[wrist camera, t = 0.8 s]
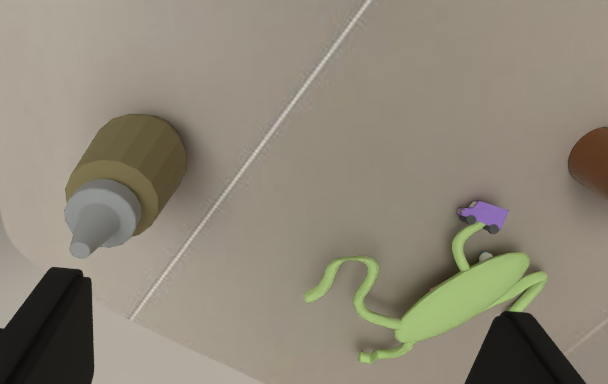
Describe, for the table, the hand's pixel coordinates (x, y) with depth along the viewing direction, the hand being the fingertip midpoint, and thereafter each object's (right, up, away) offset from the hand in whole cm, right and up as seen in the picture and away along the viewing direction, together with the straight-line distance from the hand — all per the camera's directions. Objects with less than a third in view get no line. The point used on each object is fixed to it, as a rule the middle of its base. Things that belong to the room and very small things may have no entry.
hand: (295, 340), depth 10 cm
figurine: (+14, -7, +42) cm, 45 cm away
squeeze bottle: (-14, +8, +32) cm, 36 cm away
